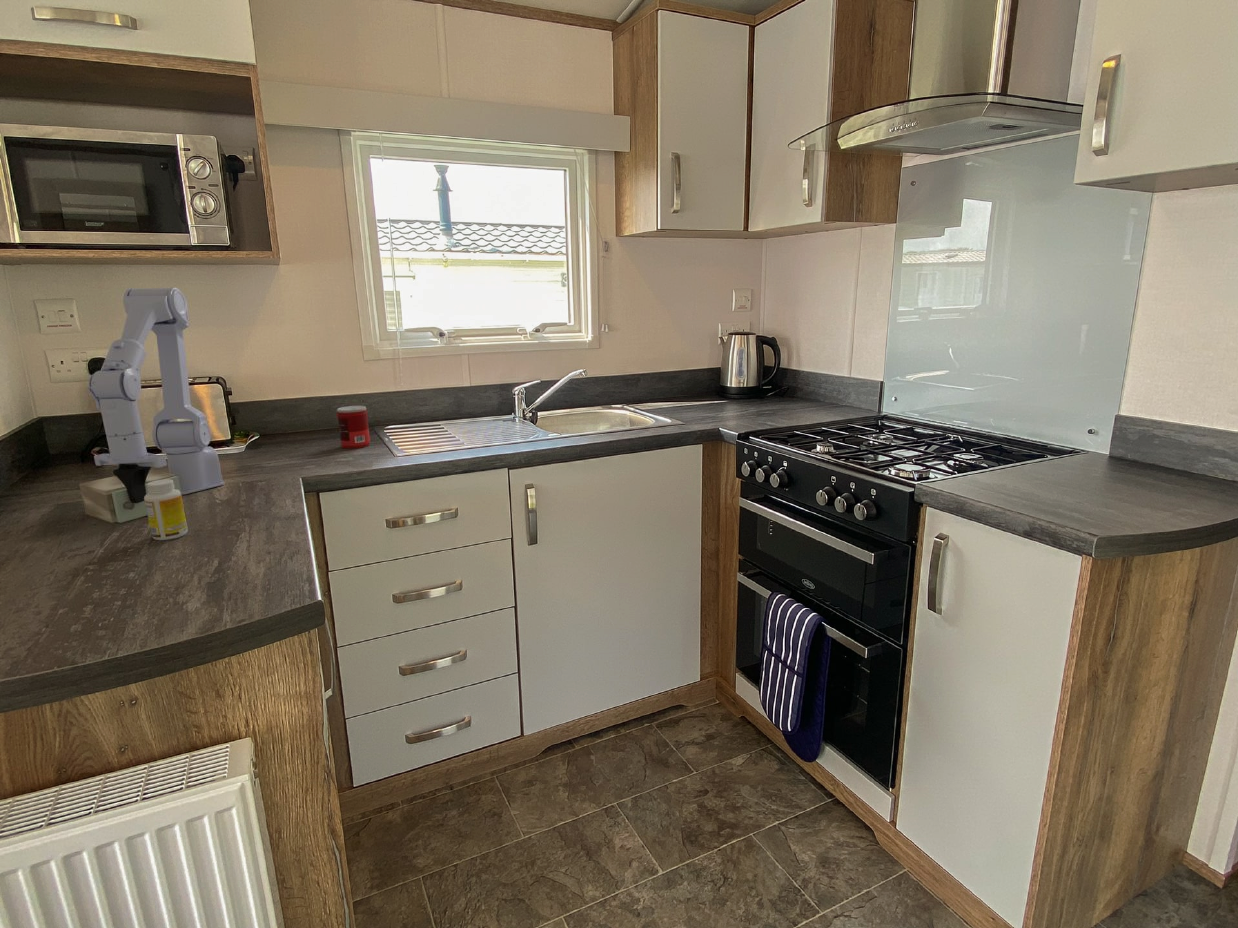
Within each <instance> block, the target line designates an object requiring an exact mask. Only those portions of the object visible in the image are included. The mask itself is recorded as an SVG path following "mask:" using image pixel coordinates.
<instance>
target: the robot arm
mask: <svg viewBox="0 0 1238 928" xmlns="http://www.w3.org/2000/svg"><path fill="white" fill-rule="evenodd" d="M122 302H123V307H124V311H125V313H126V319H125V322H124V326H123V330H122V334H121V337H120V339H119V338H118V339H116V340H113V342H112V343H111V344H110V347H109V349H108V352H107V355H106V356H105V359H104V361H103V363H102V366H101V369H100V370H97V371H95V372H94V373H93V374H91V375H90V377H89V379H88V388H87V389H88V393H89V395H90V397H91V399H93V401H94V403H95V407H96V409H97V411H99V412H100V414H101V418H102V422H103V427H104V431H105V435H106V441H107V445H108V451H109V453H101V454H97V455H94V456H93V458H94V463H95V466H96V467H97V466H100V467H101V466H118V468H116V469H113V470H112V472H113V476H117V477H118V478H119V479H120V481H121V482H122V483H123V484H124V486H125V487H126V489H127V492H128V496H129V499H130V501H131V502H132V503H140V502H142V501H144V497H145V495H146V487H145V482H146V478H147V475H148V473H149V471H150V469H152V467H153V468H155V469H156V468H158V469H159V468H163V467H165V466H167V467H168V471H169V472H168V473H170V474H174V475H177V476H178V477H179V482H180V488H181V493H182V496H184V495H187V494H191V493H192V494H193V493H196V492H200V491H205V490H208V489H211V488H216V487H221V486H224V485H225V484H226V483H225V482H224V480H223V476H222V471H221V469H222V468H221V464H220V459H219V455H218V452H217V451H216V450H215V448H213V447H212V446H208V445H209V444H210V442H211V436H212V435H211V434H212V433H211V429H210V425H209V424H208V420H207V415H206V414H205V413H204V412H202V411H201V410H199V409H197V408H196V407H194V406H192V404H191V395H190V393H191V392H190V383H189V377H188V376H189V375H188V366H187V358H186V357H187V356H186V349H185V347H186V346H185V337H184V330H186V329H187V328H189V326H190V324H189V321H190V320H189V310H188V302H187V299H186V298H185V296H184V294H183V292H182V291H181V290H180V289H179V288H178V287H170V288H169V287H166V288H162V287H161V288H159V287H158V288H134V287H133V288H132V287H129V288H127V289H126V290H125V292H124V293H123V298H122ZM151 331H152V333H154V334H155V336H156V340H157V341H156V342H157V343H156V344H157V351H158V352H157V353H158V360H159V361H158V362H159V370H160V379H161V380H160V381H161V389H162V398H163V408H162V409H161V410H160V411H159V412H157V413H156V414H155V415H154V416H153V426H152V427H153V428H152V431H151V433H152V434H151V437H152V438H151V439H152V441H153V443H154V446H156V447H157V449H159V450H160V451H161V453H162V454H166V455H161V454H155V453H150V452H148V451H147V446H146V440H145V436H144V431H143V426H142V422H141V421H142V420H141V416H140V410H139V406H138V400H137V399H138V398H139V397H140V395H141V394H142V384H141V381H142V375H141V370H142V367H143V365H144V361H145V360H146V356H147V352H146V349H145V348H144V347H143V346H144V344H145V342H146V340H147V338H148V336H149V335H150V332H151ZM172 420H179V421H172ZM180 420H181V421H180Z"/></svg>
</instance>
